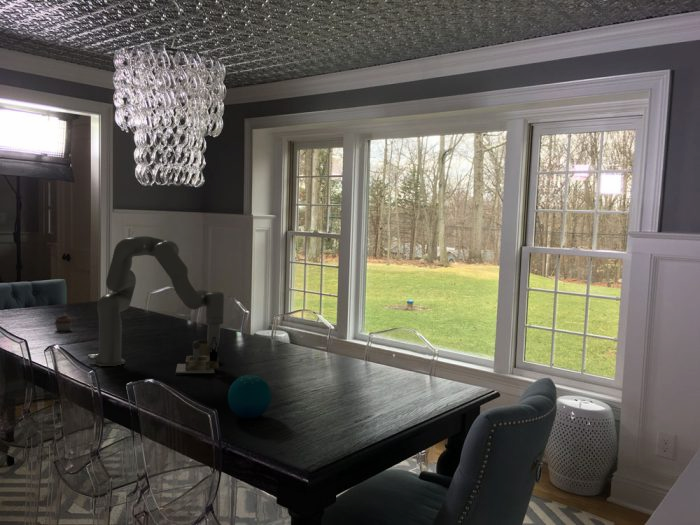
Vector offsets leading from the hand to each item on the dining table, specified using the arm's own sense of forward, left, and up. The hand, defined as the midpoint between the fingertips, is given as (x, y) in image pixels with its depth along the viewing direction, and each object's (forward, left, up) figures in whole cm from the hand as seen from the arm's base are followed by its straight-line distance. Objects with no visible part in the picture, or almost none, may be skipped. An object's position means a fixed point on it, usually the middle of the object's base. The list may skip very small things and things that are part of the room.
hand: (213, 358), depth 267 cm
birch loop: (-5, 0, -4) cm, 6 cm away
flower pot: (-4, +20, -6) cm, 21 cm away
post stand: (-8, 0, -6) cm, 9 cm away
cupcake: (-80, +86, -6) cm, 117 cm away
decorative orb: (+12, -61, -6) cm, 63 cm away
